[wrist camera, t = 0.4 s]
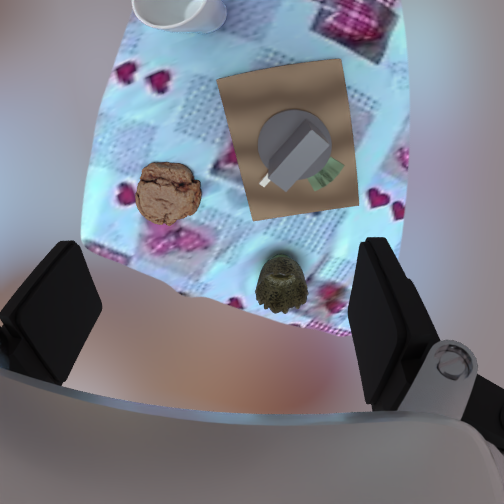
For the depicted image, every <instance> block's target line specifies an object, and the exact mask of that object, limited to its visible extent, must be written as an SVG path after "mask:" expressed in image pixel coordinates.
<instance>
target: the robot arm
mask: <svg viewBox="0 0 504 504" xmlns="http://www.w3.org/2000/svg"><path fill="white" fill-rule="evenodd" d="M101 311H102V302H101V299H100V297H99V295H98V292H97V290H96V287H95V285H94V282H93V280H92V277H91V275H90V272H89V269H88V267H87V264H86V261H85V259H84V256H83V253H82V250H81V248H80V246H79V245H77V243H75V241H60V242H58V243H57V244H56V246H55V247H54V248H53V249H52V250H51V251H50V252H49V253H48V254H47V255H46V256H45V258H44V259H43V260H42V261H41V262H40V263H39V265H38V266H37V267H36V268H35V269H34V270H33V272H32V273H31V274H30V275H29V276H28V278H27V279H26V280H25V281H24V282H23V284H22V285H21V286H20V287H19V288H18V290H17V291H16V292H15V293H14V295H13V296H12V297H11V299H10V300H9V301H8V303H7V304H6V305H5V306H4V308H3V309H2V310H1V312H0V319H1V321H2V322H3V326H2V327H1V326H0V504H504V389H503V388H501V387H499V386H497V385H496V384H494V383H492V382H491V381H489V380H487V379H485V378H484V377H482V376H480V375H478V374H477V371H478V364H477V360H476V357H475V356H474V354H473V352H472V351H471V350H470V349H469V348H468V347H467V346H465V345H463V344H462V343H460V342H457V341H454V340H443V341H440V339H439V337H438V334H437V332H436V330H435V327H434V325H433V323H432V321H431V319H430V317H429V314H428V312H427V310H426V308H425V306H424V304H423V302H422V300H421V298H420V296H419V294H418V292H417V290H416V287H415V286H414V284H413V282H412V281H411V280H410V279H408V278H407V277H406V275H405V273H404V271H403V269H402V267H401V265H400V263H399V262H398V260H397V258H396V256H395V254H394V252H393V250H392V249H391V247H390V245H389V243H388V241H387V239H386V238H384V237H367V238H366V241H365V242H361V243H360V246H359V251H358V257H357V263H356V269H355V275H354V280H353V285H352V290H351V295H350V300H349V305H348V319H349V324H350V328H351V332H352V337H353V341H354V346H355V351H356V356H357V360H358V365H359V370H360V375H361V381H362V386H363V391H364V397H365V401H366V404H371V405H372V411H373V412H351V413H334V414H240V413H223V412H222V413H221V412H209V411H199V410H189V409H180V408H172V407H163V406H156V405H150V404H143V403H137V402H131V401H125V400H120V399H115V398H110V397H105V396H100V395H95V394H91V393H87V392H83V391H78V390H74V389H70V388H66V387H63V386H62V383H63V382H65V381H66V380H67V378H68V376H69V374H70V372H71V369H72V367H73V365H74V363H75V361H76V359H77V357H78V355H79V353H80V351H81V349H82V347H83V345H84V343H85V341H86V340H87V338H88V336H89V334H90V332H91V330H92V328H93V326H94V324H95V322H96V321H97V319H98V317H99V315H100V313H101Z"/></svg>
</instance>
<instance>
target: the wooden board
mask: <svg viewBox="0 0 504 504" xmlns="http://www.w3.org/2000/svg"><path fill="white" fill-rule="evenodd" d="M216 81H217V84H218V88H219V92H220V96H221V99H222V103H223V107H224V111H225V115H226V119H227V122H228V126H229V130H230V134H231V138H232V142H233V145H234V149H235V153H236V157H237V161H238V165H239V169H240V172H241V176H242V180H243V184H244V188H245V192H246V196H247V200H248V204H249V208H250V212H251V215H252V219H253V221H259V220H265V219H271V218H278V217H284V216H290V215H297V214H304V213H310V212H317V211H324V210H331V209H338V208H345V207H352V206H359V195H358V182H357V170H356V160H355V150H354V141H353V133H352V125H351V117H350V110H349V103H348V97H347V90H346V84H345V78H344V73H343V67H342V62H341V59H329V60H320V61H312V62H304V63H297V64H290V65H284V66H278V67H272V68H266V69H261V70H256V71H251V72H246V73H242V74H237V75H233V76H228V77H224V78H220V79H217V80H216ZM289 109H299V110H304V111H307V112H310V113H312V114H313V115H315V116H316V117H318V118H319V119H320V120H321V121H322V122H323V124H324V125H325V126H326V128H327V129H328V131H329V134H330V137H331V142H332V149H331V154H330V158H329V160H328V162H327V163H326V165H325V166H324V167H323V169H322V170H320V171H319V172H318V173H317V174H315V175H313V176H312V177H309V178H306V179H302V180H297V181H296V182H295V183H294V184H293V185H292V186H291V187H290V188H289V190H288V191H287V192H285V191H284V190H283V189H281V188H280V187H279V186H277V185H276V184H275V183H273V182H272V181H271V180H270V181H269V183H268V184H267V185H266V186H265V187H263V186H261V185H260V184H259V182H260V181H261V179H262V178H263V177H264V176H265V175H266V174H267V173H268V169H267V168H266V166H265V165H264V164H263V162H262V160H261V158H260V156H259V152H258V138H259V134H260V131H261V129H262V127H263V125H264V124H265V122H266V121H267V120H268V119H269V118H270V117H272V116H273V115H275V114H276V113H279V112H281V111H284V110H289Z"/></svg>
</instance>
